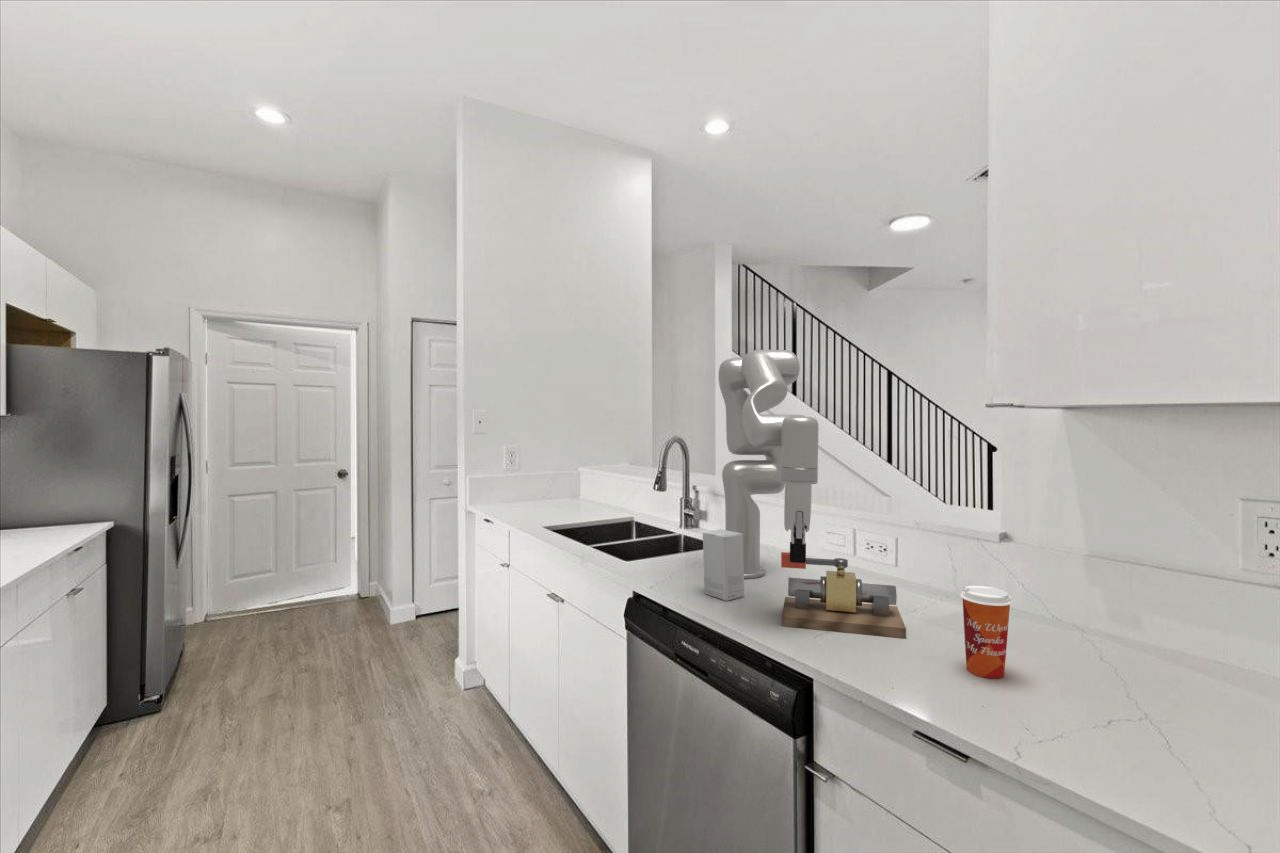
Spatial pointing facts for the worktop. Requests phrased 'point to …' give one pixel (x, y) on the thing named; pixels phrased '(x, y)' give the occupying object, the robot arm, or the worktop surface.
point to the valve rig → (843, 605)
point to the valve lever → (812, 562)
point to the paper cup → (986, 630)
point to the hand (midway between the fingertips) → (797, 561)
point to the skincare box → (723, 564)
